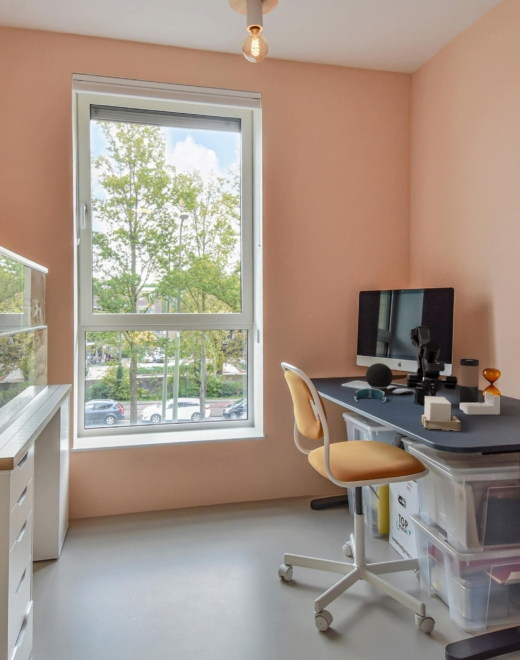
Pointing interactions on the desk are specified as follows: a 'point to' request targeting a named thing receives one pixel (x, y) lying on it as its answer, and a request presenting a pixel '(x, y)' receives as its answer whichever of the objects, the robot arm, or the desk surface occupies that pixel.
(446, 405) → the white cardboard box
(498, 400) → the bracket
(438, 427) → the birch slot
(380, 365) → the black ball on stand
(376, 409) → the desk surface
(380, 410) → the desk surface
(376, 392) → the sunglasses
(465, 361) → the travel mug
